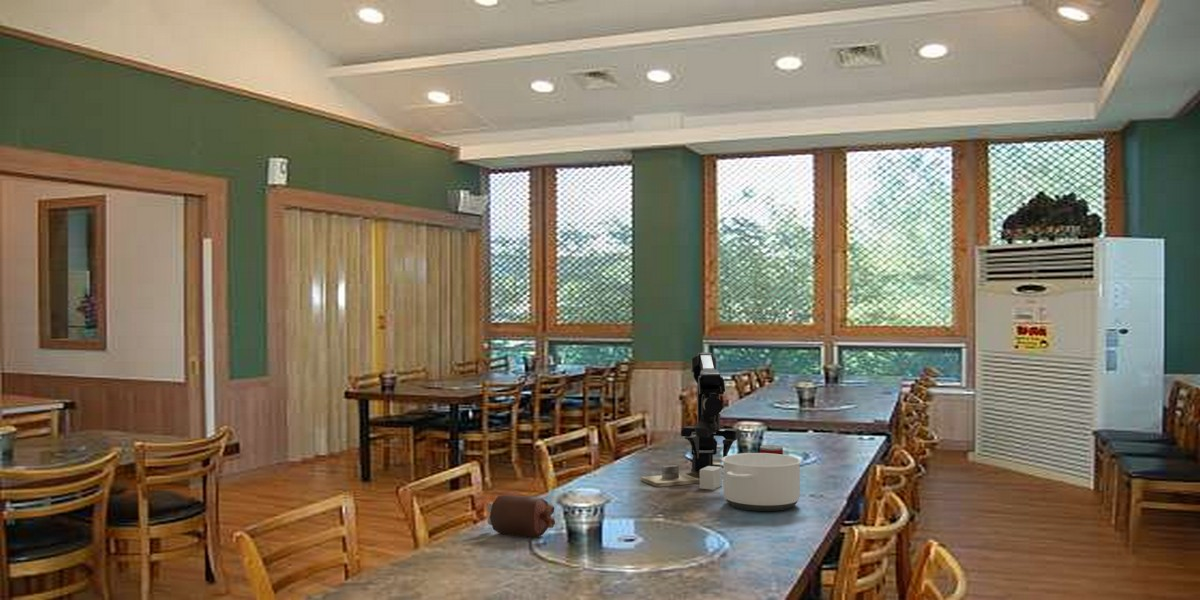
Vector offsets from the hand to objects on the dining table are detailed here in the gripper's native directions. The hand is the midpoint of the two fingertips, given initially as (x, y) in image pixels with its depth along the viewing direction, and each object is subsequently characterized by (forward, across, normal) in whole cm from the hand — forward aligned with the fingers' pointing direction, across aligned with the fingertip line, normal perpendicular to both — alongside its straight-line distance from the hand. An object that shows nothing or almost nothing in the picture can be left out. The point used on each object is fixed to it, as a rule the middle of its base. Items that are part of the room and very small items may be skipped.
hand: (710, 459), depth 305 cm
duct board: (+9, -15, +2) cm, 18 cm away
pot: (+9, +23, -19) cm, 31 cm away
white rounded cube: (+9, 0, 0) cm, 9 cm away
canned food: (+9, +14, +21) cm, 27 cm away
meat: (+9, -22, -81) cm, 84 cm away
